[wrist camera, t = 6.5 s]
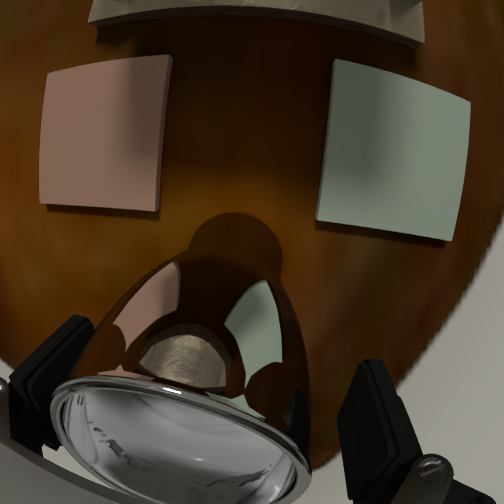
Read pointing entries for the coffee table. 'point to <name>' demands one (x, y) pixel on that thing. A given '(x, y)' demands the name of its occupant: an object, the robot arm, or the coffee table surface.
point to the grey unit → (281, 14)
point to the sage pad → (392, 153)
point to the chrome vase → (196, 379)
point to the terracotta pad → (105, 134)
